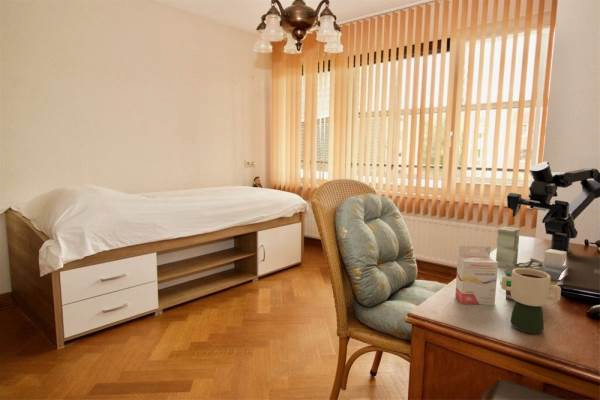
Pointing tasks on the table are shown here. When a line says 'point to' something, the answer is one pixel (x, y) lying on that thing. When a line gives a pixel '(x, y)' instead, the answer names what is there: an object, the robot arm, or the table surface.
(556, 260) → the ivory cube
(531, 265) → the food container
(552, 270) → the slate slab
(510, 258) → the sage block
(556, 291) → the character mug
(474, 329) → the table surface
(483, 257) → the ink cartridge box
